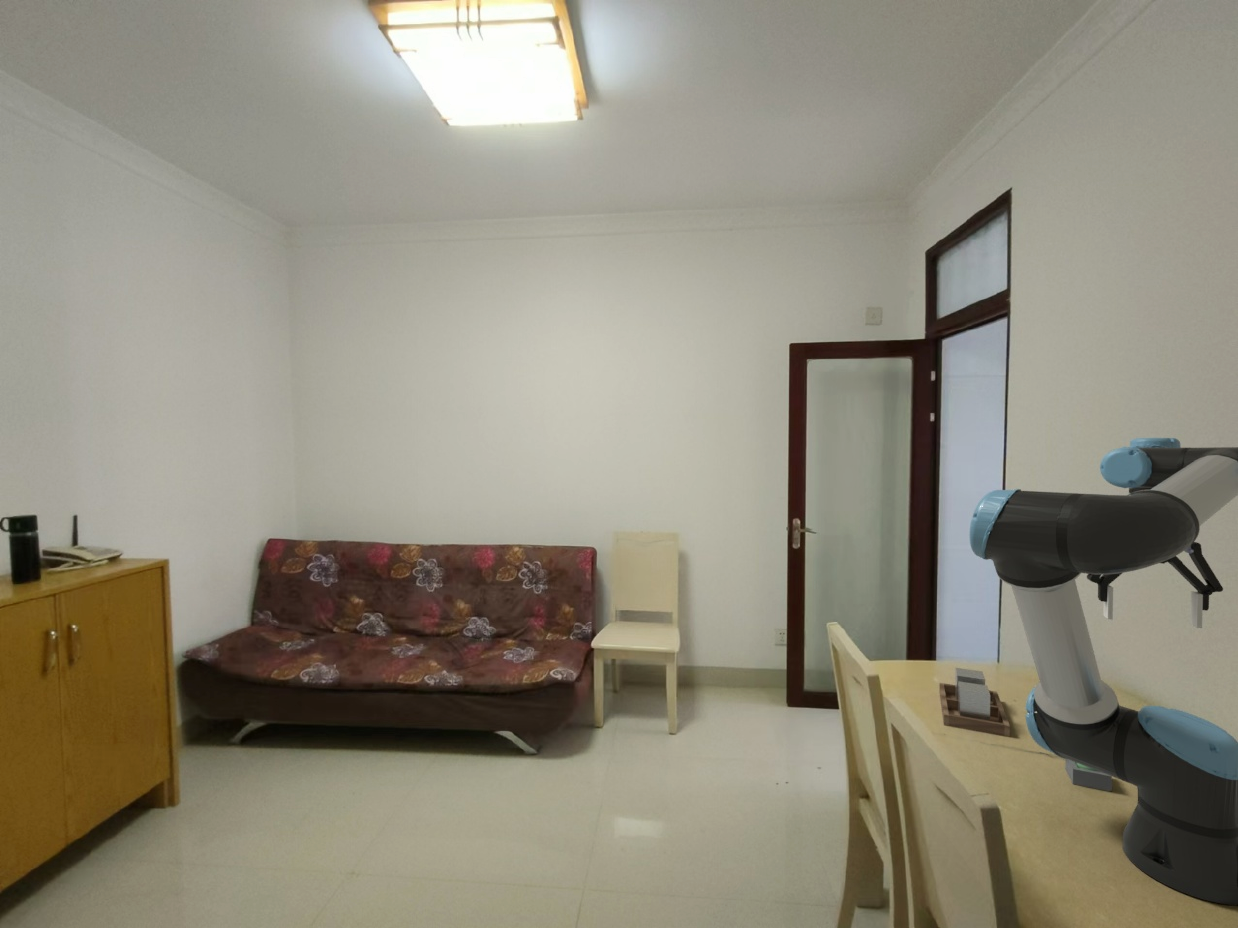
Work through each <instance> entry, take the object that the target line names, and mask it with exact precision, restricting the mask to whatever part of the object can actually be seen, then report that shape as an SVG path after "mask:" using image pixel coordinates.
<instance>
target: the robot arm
mask: <svg viewBox="0 0 1238 928" xmlns="http://www.w3.org/2000/svg"><path fill="white" fill-rule="evenodd" d="M1099 471H1100V474H1101V476H1102V478H1103V479H1104V480H1105V481H1106V482H1107V483H1109V484H1110V485H1112V486H1115V487H1118V488H1121V489H1128V494H1127V495H1126V494H1125V495H1122V494H1121V495H1120V494H1099V493H1097V494H1096V493H1077V492H1060V491H1059V492H1055V491H1035V490H1034V491H1033V490H1022V489H1020V488H1016V489H995V490H992V491H990V492H988V493H986V494H985V495H984V496H983V497H982V498H981V499H980V500H979V502H978V503H977V505H976V507H975V509H974V511H973V514H972V518H971V521H970V528H969V544H970V548H971V550H972V552H973V553H974V555H976V557H978V558H982V559H983V560H986V561H987V560H991V561H992V563H993V565H994V568H995V572H996V575H997V577H998V578H999V579H1000V580H1001V581H1002V582H1003V583H1005V584H1006V585H1009V586H1011V589H1012V592H1013V595H1014V600H1015V602H1016V605H1017V610H1018V611H1019V616H1020V619H1021V623H1022V626H1023V629H1024V632H1025V635H1026V639H1027V642H1028V646H1029V650H1030V654H1031V656H1032V659H1033V663H1034V666H1035V670H1036V674H1037V677H1038V680H1039V681H1038V683H1036V685H1035V686H1034V687H1033V688H1032V689H1031V691H1030V692H1029V694H1028V696H1027V698H1026V702H1025V710H1026V715H1025V723H1026V727H1027V730H1028V732H1029V735H1030V736H1031V738H1032V740H1033V741H1034V742H1035V743H1036V744H1037V745H1038V746H1039V747H1040V748H1042V749H1044V750H1045V751H1048V752H1050V753H1053V754H1054V755H1055V756H1057V757H1059V758H1061V759H1065V760H1066V759H1068V760H1071V761H1073V762H1076V763H1079V764H1081V765H1084V766H1087V767H1089V768H1092V769H1094V770H1097V771H1100V772H1102V773H1105V774H1107V775H1110V776H1112V778H1113V777H1114V779H1115V778H1116V779H1118V780H1121V781H1124V782H1125V783H1129V784H1131V785H1133V786H1135V787H1137V788H1136V789H1137V804H1136V806H1135V808H1134V810H1133V812H1132V814H1131V815H1130V817H1129V820H1128V821H1127V823H1126V825H1125V827H1124V829H1123V832H1122V851H1123V853H1124V854H1125V856H1126V857H1127V859H1128V860H1129V861H1130V862H1131V863H1132V864H1133V865H1134V866H1136V867H1137V868H1138V869H1139V870H1141V871H1142V872H1143V873H1145V874H1146V875H1148V876H1150V877H1151V878H1152V879H1154V880H1156V881H1157V882H1160V883H1161V884H1163V885H1166V886H1167V887H1169V888H1172V889H1174V890H1176V891H1179V892H1180V893H1183V894H1186V895H1189V896H1192V897H1194V898H1197V899H1201V900H1204V901H1206V902H1207V901H1208V902H1212V903H1217V904H1223V905H1232V906H1238V741H1237V740H1236V738H1235V737H1234V736H1232V735H1231V734H1230V733H1228V732H1227V731H1226V729H1224V728H1222V727H1220V726H1219V725H1217V724H1215V723H1213V722H1211V721H1209V720H1206V719H1205V718H1202V717H1199V716H1197V715H1194V714H1192V713H1189V712H1187V711H1183V710H1180V709H1176V708H1172V707H1171V708H1168V707H1164V706H1161V705H1145V706H1143V707H1141V708H1140V709H1139V710H1135V709H1132V708H1129V707H1126V706H1123V705H1120V704H1119V699H1118V696H1117V694H1116V693H1115V691H1114V689H1113V688H1112V687H1111V686H1110V685H1109V684H1108V683H1106V682H1105V680H1102V678H1101V673H1100V671H1099V667H1098V663H1097V659H1096V655H1095V652H1094V648H1093V643H1092V641H1091V637H1090V631H1089V628H1088V624H1087V621H1086V617H1085V613H1084V609H1083V605H1082V601H1081V597H1080V594H1079V591H1078V586H1077V583H1076V579H1078V577H1079V576H1081V574H1087V575H1086V579H1087V580H1088V581H1090V582H1091V583H1095V584H1097V599H1098V600H1099V601H1100V602H1103V617H1105V618H1106V619H1107V620H1111V621H1112V620H1113V617H1114V613H1113V612H1114V587H1113V586H1112V585H1110V584H1111V583H1113V582H1114V581H1115V580H1116V579H1118V577H1120V576H1121V575H1122V574H1124V573H1128V572H1130V573H1131V572H1134V571H1139V570H1142V569H1145V568H1146V569H1147V568H1149V567H1151V566H1154V565H1158V564H1166V563H1168V564H1170V565H1171V566H1172V567H1173V568H1174V569H1175V571H1177V572H1178V573H1179V574H1180V575H1181V576H1182V577H1183V578H1184V579H1185V580H1186V581H1187V582H1188V583H1189V584H1190V585H1191V586H1192V587H1193V588H1194V589H1195V590H1196V591H1193V590H1191V591H1190V620H1189V621H1190V622H1189V624H1190V625H1191V626H1193V627H1195V628H1197V629H1203V611H1208V610H1209V608H1210V596H1211V595H1212V594H1213V593H1217V592H1218V593H1220V592H1223V590H1224V587H1223V586H1222V584H1221V582H1220V581H1219V580H1218V577H1217V576H1216V575H1215V573H1214V571H1213V569H1212V568H1211V566H1210V564H1209V562H1208V561H1207V560H1206V558H1205V557H1204V555H1203V551H1202V544H1200V542H1196V540H1197V538H1199V537H1198V536H1199V535H1200V530H1201V525H1203V524H1204V523H1205V522H1206V521H1208V520H1209V519H1210V518H1211V517H1213V516H1214V515H1216V513H1219V511H1220V510H1221V509H1223V507H1225V506H1226V505H1228V504H1229V503H1230V502H1231V501H1232V500H1233V499H1235V498H1236V497H1237V496H1238V447H1237V446H1236V447H1234V446H1232V447H1231V446H1230V447H1228V446H1226V447H1225V446H1224V447H1223V446H1221V447H1219V446H1218V447H1216V446H1215V447H1211V446H1210V447H1182V446H1181V442H1180V440H1179V439H1178V438H1175V437H1138V438H1137V437H1136V438H1133V439H1131V440H1130V442H1129V447H1127V446H1124V447H1123V446H1122V447H1119V448H1116V449H1113V450H1111V451H1109V452H1108V453H1106V454H1105V455H1104V456H1103V458H1102V459H1101V460H1100V464H1099ZM1183 552H1185V553H1187V554H1188V555H1189V556H1188V557H1190V559H1191V561H1192V562H1193V564H1194V566H1195V567H1196V568H1197V570H1198V571H1199V573H1200V576H1201V577H1202V579H1203V581H1204V582H1205V584H1204V583H1203V582H1202V580H1200V578H1198V577H1197V575H1196V574H1194V573H1193V571H1191V570H1190V569H1189V568H1188V567H1187V566H1186V565H1185V563H1184V562H1183V560H1181V559H1180V558H1179V557H1178V556H1179V555H1180V554H1182V553H1183ZM1177 555H1178V556H1177Z"/></svg>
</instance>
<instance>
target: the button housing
mask: <svg viewBox="0 0 1238 928" xmlns="http://www.w3.org/2000/svg"><path fill="white" fill-rule="evenodd" d="M1064 764H1065V765H1064V766H1065V767H1064V768H1065V771H1066V774H1067V775H1068V777H1069V779H1070V781H1071V783H1072V785H1075V786H1081V787H1086V788H1090V789H1096V790H1101V791H1106V792H1110V791H1111V792H1112V790H1113V789H1112V788H1113V787H1112V783H1113V782H1112V779H1113V776H1110V775H1107V774H1105V773H1102V772H1098V771H1093V770H1088V769H1082V768H1078V767H1077V765H1076V762H1073V761H1071V760H1068V759H1065V762H1064Z"/></svg>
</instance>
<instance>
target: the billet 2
mask: <svg viewBox="0 0 1238 928" xmlns="http://www.w3.org/2000/svg"><path fill="white" fill-rule="evenodd" d="M989 690H990V689H989V687H988V685H986V684H985V685H980V684H973V683H966V682H960V681H958V715H959V716H964V717H970V718H976V719H982V720H987V721H990V693H989Z"/></svg>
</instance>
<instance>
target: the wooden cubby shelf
mask: <svg viewBox="0 0 1238 928" xmlns="http://www.w3.org/2000/svg"><path fill="white" fill-rule="evenodd" d="M938 688H939V689H938V690H939V698H940V699H939V701H940V705H941V707H940V708H941V712H942V713H941V715H942V723H943V726H946V727H951V728H957V729H961V730H962V729H963V730H968V731H973V732H979V733H984V734H989V735H995V736H1001V737H1005V738H1010V736H1011V732H1010V731H1011V729H1010V728H1011V726H1010V723H1009V721H1008V718H1007V714H1006V713H1005V709H1004V707H1003V704H1002V702H1001V699H1000V696H999V693H998V691H995V690H990V689H988V690H989V693H990V721H987V720H982V719H976V718H970V717H964V716H959V715H958V700H957V699H955V684H950V683H944V682H939V687H938Z"/></svg>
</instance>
